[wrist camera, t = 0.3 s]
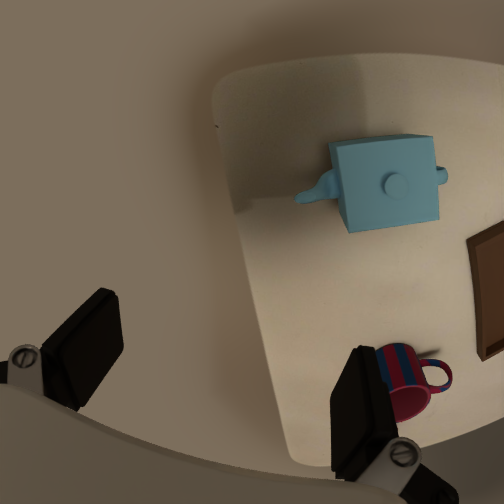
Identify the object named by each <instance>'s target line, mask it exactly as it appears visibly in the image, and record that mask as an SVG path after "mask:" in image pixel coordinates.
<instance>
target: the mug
mask: <svg viewBox="0 0 504 504" xmlns="http://www.w3.org/2000/svg"><path fill="white" fill-rule="evenodd" d="M376 356H377V360H378V364H379V368H380V373H381V377H382V381H383V382H386V383H387V385H388V388H389V393H390V397H391V401H392V406H393V410H394V415H395V420H396V423H398V422H402V421H406V420H408V419H410V418H412V417H414V416H416V415H417V414H419V413H420V412H421V411H423V410H424V409H425V407H426V406H427V405H428V403H429V401H430V399H431V394H435V393H440V392H443V391H445V390H447V389H448V388H449V387H450V386H451V383H452V371H451V369H450V367H449V366H448V365H447V364H446V363H445V362H443V361H441V360H437V359H421V360H419V359H418V357H417V355H416V352H415V351H414V349H413V348H412V347H410V346H408V345H405V344H391V345H387V346H385V347H382V348H380V349H379V350H377V351H376ZM424 366H436V367H440V368H442V369H443V370H444V371H445V372H446V374H447V376H448V382H447V383H446V384H444V385H442V386H432V385H429V384H428V383H427V381H426V378H425V375H424V373H423V370H422V367H424Z"/></svg>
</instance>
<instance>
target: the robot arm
mask: <svg viewBox="0 0 504 504" xmlns="http://www.w3.org/2000/svg"><path fill="white" fill-rule="evenodd" d="M123 348H124V343H123V336H122V328H121V319H120V311H119V301H118V296H116V295H115V292H114V291H112V290H109V289H106V288H100V289H98V290H97V291H96V292H95V293H94V294H93V295H92V296H91V297H90V298H89V299H88V300H86V301H85V302H84V304H82V305H81V306H80V307H79V308H78V309H77V310H76V311H75V312H74V313H73V314H72V315H71V316H70V317H69V318H68V319H67V320H66V321H65V322H64V323H63V324H62V325H61V326H60V327H59V328H58V329H57V330H56V331H55V332H54V333H53V334H52V335H51V336H50V337H49V338H48V339H47V340H46V341H45V342H44V343H43V344H42V347H41V348H40V349H38V348H37V347H35V346H33V345H28V344H27V345H26V344H25V345H21V346H18V347H17V348H15V349H14V350H13V351H12V352H11V353H10V356H9V359H8V361H2V362H0V504H459V496H458V493H457V491H456V489H454V488H453V487H452V486H451V485H450V484H448V483H447V482H446V481H444V480H442V479H441V478H440V477H439V476H437V475H436V474H434V473H433V472H432V471H431V470H429V469H428V468H427V467H425V466H424V465H423V464H421V463H420V462H421V459H422V453H421V450H420V448H419V446H418V445H417V444H416V443H415V442H414V441H413V440H411V439H409V438H405V437H399V435H398V430H397V425H396V420H395V415H394V410H393V406H392V401H391V397H390V393H389V388H388V385H387V383H386V382H383V381H382V377H381V373H380V368H379V364H378V360H377V356H376V352H375V349H374V347H370V346H362V345H359V346H358V348H354V349H353V350H352V352H351V354H350V356H349V358H348V361H347V363H346V365H345V367H344V369H343V371H342V373H341V375H340V377H339V379H338V381H337V383H336V385H335V387H334V389H333V391H332V394H331V397H330V417H331V470H332V471H333V472H335V473H336V476H335V477H336V479H345V481H338V480H328V479H316V478H306V477H297V476H288V475H282V474H274V473H268V472H261V471H256V470H250V469H245V468H240V467H235V466H230V465H226V464H221V463H217V462H213V461H209V460H204V459H201V458H197V457H193V456H190V455H186V454H183V453H180V452H176V451H173V450H170V449H167V448H163V447H160V446H158V445H155V444H152V443H149V442H146V441H143V440H140V439H138V438H135V437H132V436H130V435H127V434H125V433H122V432H120V431H117V430H115V429H112V428H110V427H108V426H105V425H103V424H101V423H99V422H96V421H94V420H92V419H90V418H88V417H86V416H84V415H81V414H79V413H77V411H78V410H79V408H80V407H84V406H85V405H86V403H87V402H88V401H89V398H91V396H92V395H93V393H94V392H95V390H96V389H97V387H98V386H99V384H100V383H101V382H102V380H103V379H104V377H105V376H106V374H107V373H108V371H109V370H110V369H111V367H112V366H113V364H114V363H115V362H116V360H117V359H118V357H119V356H120V354H121V353H122V351H123ZM67 407H68V408H67ZM69 408H70V409H69ZM71 409H72V410H71ZM73 410H74V411H73ZM75 411H76V412H75Z"/></svg>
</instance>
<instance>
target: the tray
mask: <svg viewBox="0 0 504 504" xmlns="http://www.w3.org/2000/svg"><path fill="white" fill-rule="evenodd" d="M467 246H468V252H469V258H470V265H471V272H472V280H473V289H474V299H475V312H476V332H477V354H478V356H479V357H480V359H481V361H482V362H483V361H485V360H487V359H489V358H491V357H492V356H494V355H496V354H498V353H500V352H501V351H503V350H504V221H502V222H500V223H498V224H496V225H494V226H492V227H490V228H489V229H487V230H485V231H483V232H481V233H479V234H477V235H475V236H473V237H471V238H469V239H467Z"/></svg>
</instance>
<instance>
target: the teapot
mask: <svg viewBox="0 0 504 504" xmlns="http://www.w3.org/2000/svg"><path fill="white" fill-rule="evenodd" d="M328 146H329V151H330V156H331V162H332V167H333V169H332V170H329V171H327V172H325V173H324V174H323V175H322V176H321V177H320V178H319V180H318V182H317V184H316V185H315V186H314V187H313V188H311V189H309V190H306V191H303V192H301V193H299V194H297V195H296V196H295V197H294V200H295V202H297V203H301V204H306V203H312V202H315V201H319V200H324V199H335V198H338V205H339V212H340V215H341V217H342V219H343V221H344V224H345V226H346V228H347V230H348V233H354V232H360V231H367V230H374V229H381V228H388V227H395V226H402V225H408V224H415V223H421V222H427V221H434V220H439V200H438V185H441V184H444V183H446V182H447V180H448V173H447V170H446V169H445V168H444V167H439V166H436V160H435V151H434V143H433V136H425V135H415V134H399V135H388V136H379V137H370V138H361V139H353V140H346V141H339V142H332V143H328Z"/></svg>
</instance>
